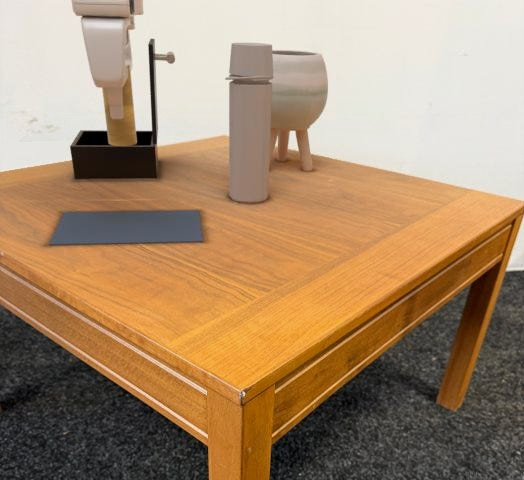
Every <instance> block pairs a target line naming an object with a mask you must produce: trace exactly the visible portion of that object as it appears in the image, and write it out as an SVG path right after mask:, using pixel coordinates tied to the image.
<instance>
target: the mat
mask: <svg viewBox="0 0 524 480" xmlns="http://www.w3.org/2000/svg"><path fill="white" fill-rule="evenodd" d="M199 211H200V210H199V209H182V210H181V209H179V210H176V209H175V210H174V209H173V210H171V209H170V210H109V211H108V210H107V211H106V210H105V211H104V210H103V211H102V210H101V211H98V210H97V211H63V213H62V216H61V218H60V220H59V221H58V224H57V226H56V228H55V230H54V233H53V235H52V237H51V239H50V241H49V243H48V246H49V247H50V246H51V247H52V246H53V247H54V246H56V247H57V246H96V245H97V246H98V245H99V246H100V245H137V244H138V245H140V244H141V245H142V244H143V245H144V244H147V245H148V244H186V243H191V244H193V243H204V237H203V230H202V225H201V217H200V212H199Z"/></svg>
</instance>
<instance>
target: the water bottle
mask: <svg viewBox="0 0 524 480" xmlns="http://www.w3.org/2000/svg"><path fill="white" fill-rule="evenodd" d="M230 45H231V47H230V57H229V69H228V77H225V78H224V80H225V81H229V83H228V84H229V85H228V96H229V97H228V132H229V133H228V158H229V159H228V167H229V168H228V196H229V198H230V199H231V200H232V201H233V202H236V203H240V204H260V203H263V202H265V201H266V200H267V199H268V197H269V180H270V179H269V178H270V164H269V155H270V130H271V104H272V83H270V82H269V80H272V79H273V77H274V76H273V55H272V50H273V44H270V43H261V42H232V43H231V44H230Z"/></svg>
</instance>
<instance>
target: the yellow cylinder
mask: <svg viewBox="0 0 524 480" xmlns="http://www.w3.org/2000/svg"><path fill="white" fill-rule="evenodd" d="M122 88H123V104H124V114H125V115H124V118H123V119H112V118H111V116H110V108H109V103H108V99H107V95H106V90H105V88H101V90H102V98H103V107H104V108H103V109H104V117H105V124H106V131H107V134H108V143H109V144H110V145H114V146H130V145H134V144H136V143H137V137H136V131H137V127H136V116H135V106H134V105H135V104H134V95H133V84H132V70H130V65H128V78H127V80H126V82H125V84H124V86H123V87H122Z"/></svg>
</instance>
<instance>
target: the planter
mask: <svg viewBox="0 0 524 480" xmlns="http://www.w3.org/2000/svg"><path fill="white" fill-rule="evenodd" d="M272 55H273V76H274V77H273V79H272V80H269V82H270V83H272V104H271V130H270V155H269V165H270V164H271V161H272V157H273V154H274V151H275V147H276V145H277V148H276V149H277V150H276V151H277V152H276V160H277V161H278V162H286V161H287V157H288V151H289V150H288V149H289V142H290V133H291V132H295V139H296V144H297V148H298V153H299V158H300V162H301V163H300V164H301V167H302V171H304V172H312V171H313V161H312V154H311V147H310V141H309V140H310V139H309V131H308V129H310V128H311V126H312V125H313V124H315V123H316V122H317V121H318V119H319V118H320V117H321V115H322V114H323V112H324V111H325V107H326V105H327V101H328V94H329V80H328V71H327V66H326V62H325V59H324V57H323V55H322V53H319V52H315V51H308V50H293V49H292V50H291V49H272ZM276 143H277V144H276Z"/></svg>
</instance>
